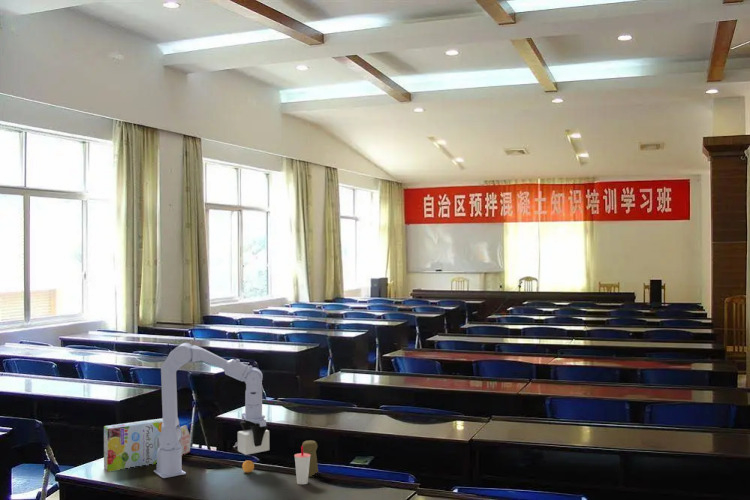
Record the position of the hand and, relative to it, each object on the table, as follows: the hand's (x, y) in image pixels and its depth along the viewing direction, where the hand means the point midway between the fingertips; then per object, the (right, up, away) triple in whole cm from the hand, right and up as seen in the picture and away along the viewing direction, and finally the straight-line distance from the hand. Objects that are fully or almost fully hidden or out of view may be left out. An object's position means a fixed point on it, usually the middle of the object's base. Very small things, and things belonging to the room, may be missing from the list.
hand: (253, 443), depth 236 cm
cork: (+20, -10, -3) cm, 22 cm away
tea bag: (-31, -10, +21) cm, 39 cm away
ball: (-2, -7, -2) cm, 8 cm away
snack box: (-43, -10, +7) cm, 44 cm away
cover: (0, -2, 0) cm, 2 cm away
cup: (+18, -9, -13) cm, 24 cm away
